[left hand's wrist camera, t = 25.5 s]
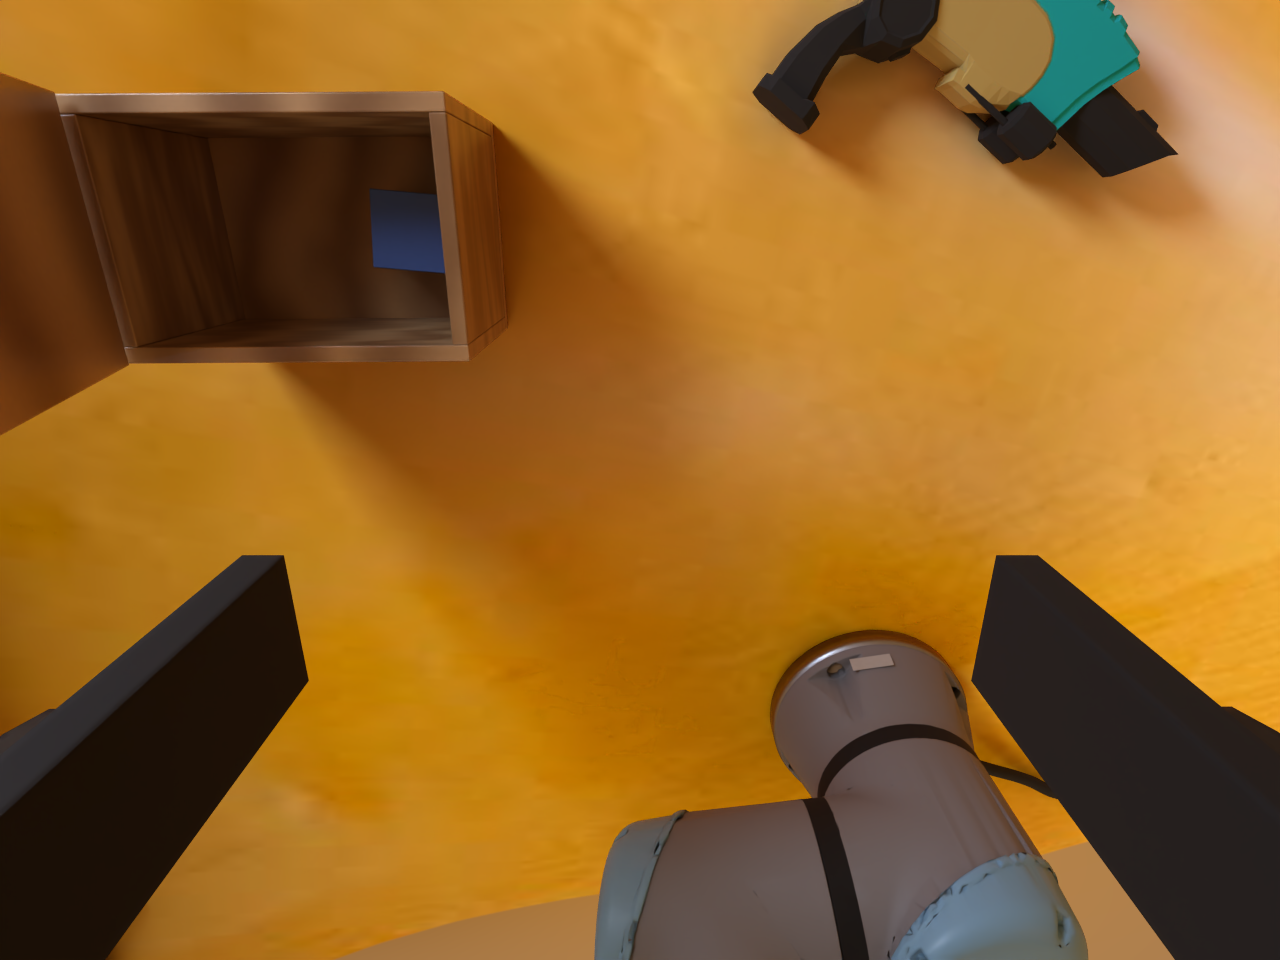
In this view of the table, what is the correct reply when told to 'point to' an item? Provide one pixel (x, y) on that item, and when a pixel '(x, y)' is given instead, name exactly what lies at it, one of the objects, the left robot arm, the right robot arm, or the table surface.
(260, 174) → the chest
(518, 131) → the table surface
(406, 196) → the block
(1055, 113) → the toy gun
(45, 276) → the lid
